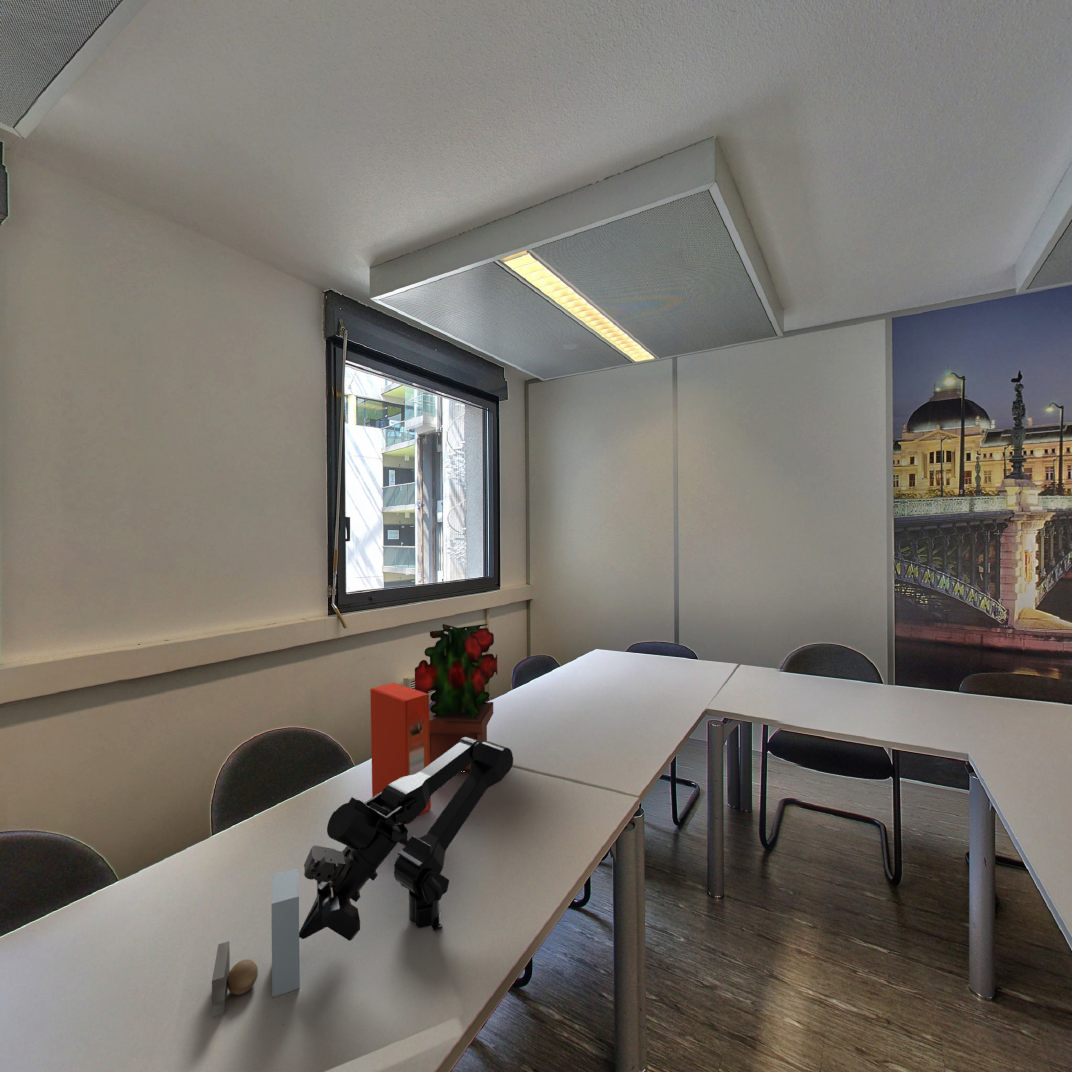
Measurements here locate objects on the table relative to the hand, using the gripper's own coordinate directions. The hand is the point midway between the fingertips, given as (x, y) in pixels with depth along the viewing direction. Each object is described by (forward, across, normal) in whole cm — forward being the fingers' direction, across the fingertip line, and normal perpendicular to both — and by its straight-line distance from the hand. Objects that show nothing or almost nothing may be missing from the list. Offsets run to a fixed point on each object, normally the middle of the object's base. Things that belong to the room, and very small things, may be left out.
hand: (300, 936), depth 89 cm
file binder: (-13, -51, +24) cm, 58 cm away
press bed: (+7, 0, +3) cm, 8 cm away
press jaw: (+6, 0, +2) cm, 6 cm away
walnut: (+10, 0, -2) cm, 11 cm away
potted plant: (-29, -70, +40) cm, 85 cm away
